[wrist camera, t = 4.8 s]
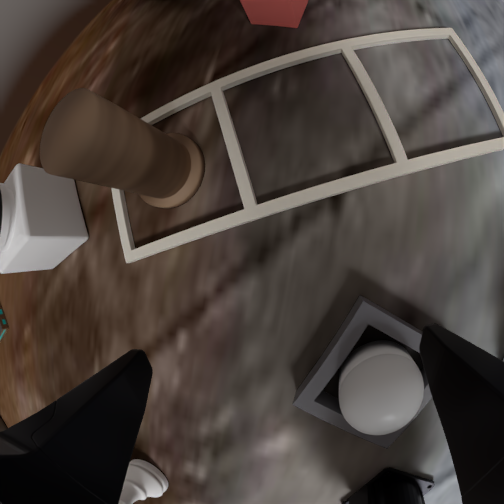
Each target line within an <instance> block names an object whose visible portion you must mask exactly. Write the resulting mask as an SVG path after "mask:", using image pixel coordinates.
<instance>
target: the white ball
mask: <svg viewBox="0 0 504 504" xmlns="http://www.w3.org/2000/svg"><path fill="white" fill-rule="evenodd" d="M423 395H424V382H423V377H422V374H421V372H420V370H419V368H418V366H417V365H416V363H415V362H414V360H413V359H412V357H411V356H410V354H409V353H408V351H407V350H406V349H405V348H404V347H402V346H401V345H399V344H397V343H395V342H392V341H387V340H379V341H373V342H369V343H366V344H364V345H362V346H360V347H358V348H357V349H355V350H354V351H353V352H352V353H351V354H350V355H349V356H348V357H347V358H346V360H345V361H344V363H343V365H342V367H341V369H340V373H339V405H340V409H341V412H342V414H343V416H344V418H345V420H346V421H347V422H348V423H349V424H350V425H351V426H352V427H353V428H355V429H356V430H358V431H360V432H362V433H365V434H369V435H385V434H389V433H392V432H395V431H397V430H399V429H400V428H402V427H403V426H405V425H406V424H407V423H408V422H410V420H411V419H412V418H413V417H414V416H415V414H416V413H417V411H418V410H419V408H420V405H421V403H422V400H423Z"/></svg>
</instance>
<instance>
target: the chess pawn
mask: <svg viewBox="0 0 504 504" xmlns="http://www.w3.org/2000/svg"><path fill="white" fill-rule="evenodd" d="M125 479H126V480H125V481H124V484H123V490H122V492H121V496H120V500H119V504H133V503H134V502H135V501H137V500H145V499H146V497H160V496H161V495H162V494H163V492H165V491H166V490H167V488H168V481H167V479H166V477H165V476H164V474H163V473H162V472H161V471H160V470H159V469H158V468H156V467H155V466H154V465H152V464H150V463H149V462H146V461H144V460H140V459H134V460H132V461H131V462H129V466H128V470H127V473H126V477H125Z"/></svg>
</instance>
